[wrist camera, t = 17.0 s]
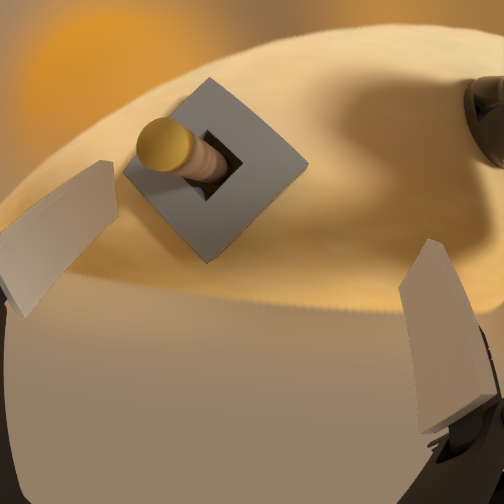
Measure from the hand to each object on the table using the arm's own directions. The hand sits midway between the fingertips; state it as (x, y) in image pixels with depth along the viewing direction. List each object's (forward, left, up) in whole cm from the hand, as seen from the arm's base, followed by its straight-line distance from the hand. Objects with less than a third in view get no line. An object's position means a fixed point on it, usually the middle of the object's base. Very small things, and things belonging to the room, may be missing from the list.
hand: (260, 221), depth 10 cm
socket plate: (+10, +2, -24) cm, 26 cm away
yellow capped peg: (+10, +2, -24) cm, 26 cm away
